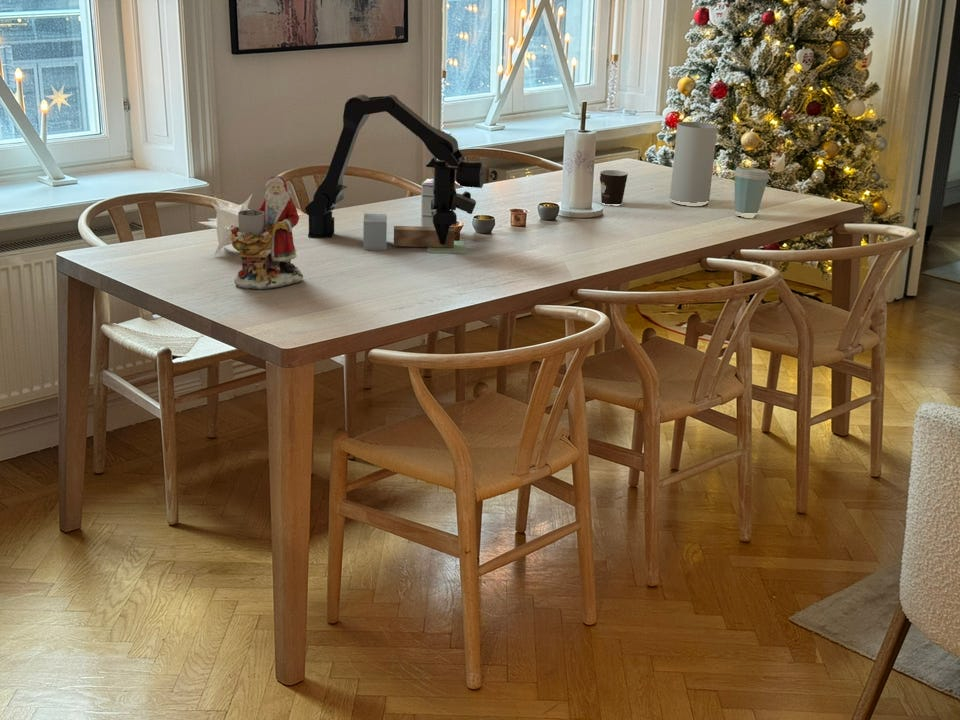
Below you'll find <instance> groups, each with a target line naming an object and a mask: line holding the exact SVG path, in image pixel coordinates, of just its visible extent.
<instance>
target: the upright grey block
mask: <svg viewBox="0 0 960 720" xmlns="http://www.w3.org/2000/svg"><path fill="white" fill-rule="evenodd" d="M387 218H388V214H387V213H366V212H365V213H364V214H363V234H362V235H363V237H362V238H363V239H362V240H363V242H362V243H363V244H362V245H363V251H367V250H368V251H387V235H388V233H387V227H388V226H387V225H388V223H387V221H388V219H387Z"/></svg>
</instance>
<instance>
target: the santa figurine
mask: <svg viewBox="0 0 960 720" xmlns="http://www.w3.org/2000/svg"><path fill="white" fill-rule="evenodd" d="M265 188H266V189H267V190H266V191H265V193H264V199H263V201H262V203H261V204H260V206H259V207H258V208H256V209H248V210H243V211H240V212H238V225H239V227H233V226H231V232H232V233H231V235H230V238H231V240H232V244H231V246H232V247H233V248H234V249H235V251H237V252H239V257H241V269H240V270H239V271H238V272H237V275H236V276H235V277H234V278H233V281H234V284H235V285H236V286H237V285H238V287H239V288H241V287H243V288H242V289H245V288H246V289H248V290H267V289H273V288H274V289H275V288H280V287H284V286H289V285H293V284H297V283H300V282H302V281H303V279H304V275H303V273H302V272H301V270H300V269H299V268H298V267H297V266H296V265H295V264H294V263H291V261H292V260H294V259H296V258H297V249H296V247H295V244H294V238H293V237H294V236H293V228H294V227H296V226H297V225H298V223H299V220H300V216H299V213H298V210H297V207H296V205H295V203H294V201H293V199H292V198H291V197H290V196H291V194H292V192H291V191H290V190H289V189H288V187H287V183H286V181H285V179H284V178H283V177H282V176H279V175H273V176H271V177H269V178H268V179H267V182H266V183H265ZM249 288H250V289H249ZM251 288H252V289H251Z"/></svg>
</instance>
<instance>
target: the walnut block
mask: <svg viewBox="0 0 960 720" xmlns="http://www.w3.org/2000/svg"><path fill="white" fill-rule="evenodd" d="M454 241H455V227H454V226H450V227H449V230H448V234H447V238H446V242H445V244H444V245H442V244H441V243H440V241H439V238H438V235H437V232H436V230H435V227H424V226H417V225H415V226H414V225H411V226H410V225H393V247H419V248H420V247H421V248H424V247H426V248H428V247H454Z"/></svg>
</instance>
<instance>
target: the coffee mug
mask: <svg viewBox="0 0 960 720" xmlns="http://www.w3.org/2000/svg"><path fill="white" fill-rule="evenodd" d="M628 175H629V174H628V172H627V171H623V170H615V169H614V170H612V169H605V170H602V171H600V175H599V182H600V196H601V197H600V200H601V202H602V203H605V204H621V203H622V204H623V200H624V197H625V189H626V184H627V181H628ZM601 202H600V203H601Z"/></svg>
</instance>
